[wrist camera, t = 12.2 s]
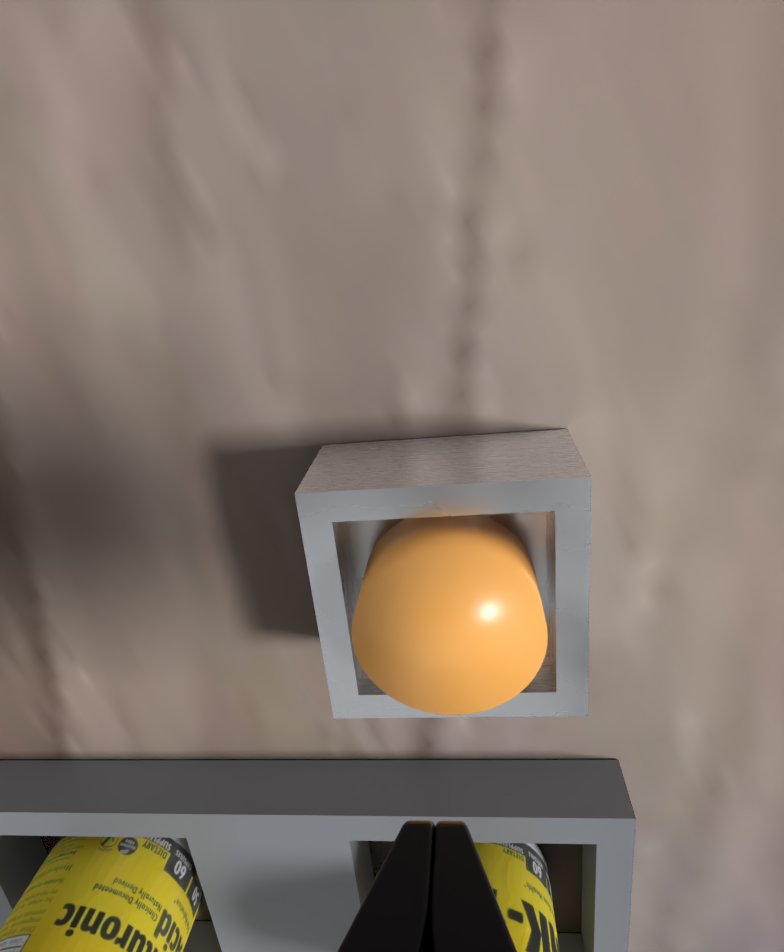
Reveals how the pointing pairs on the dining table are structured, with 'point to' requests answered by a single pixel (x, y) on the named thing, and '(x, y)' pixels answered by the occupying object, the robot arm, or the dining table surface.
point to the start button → (450, 615)
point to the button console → (452, 494)
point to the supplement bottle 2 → (522, 893)
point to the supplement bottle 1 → (107, 898)
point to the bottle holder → (319, 832)
